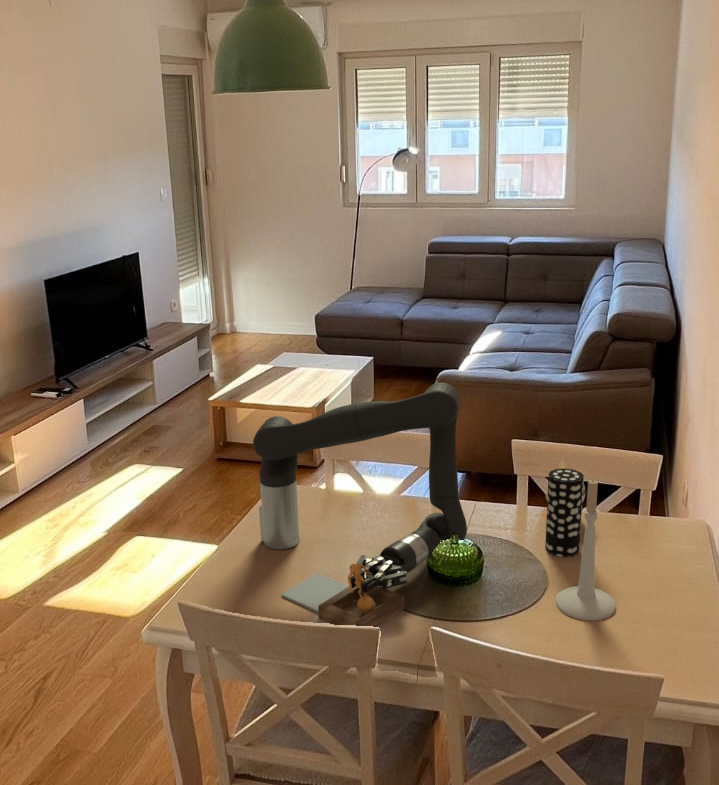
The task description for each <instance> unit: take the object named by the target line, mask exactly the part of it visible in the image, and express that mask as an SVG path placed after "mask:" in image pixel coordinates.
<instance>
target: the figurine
mask: <svg viewBox="0 0 719 785" xmlns="http://www.w3.org/2000/svg"><path fill="white" fill-rule="evenodd" d="M361 567H362V568H363V569H364V570H366V571H367V572H368V573H369V571H368V570H367V569H366V568H365V567H364V566H363V565H362V564H360V563H358V564H356V563H352V564H350V565H349V568H348V570H349V574H348V576H347V582H348V584H349V585H348V586H350V591H351V593H353V592H352V591H353V590H354V589H352V585H351V580H350V578H351V577H352V576H354V578H355V579H356V581H355V584H356V586H357V587H358V588H359V589H360V590H359V591H358V593H359V595H360V597H361V598H360V599H358V600H357V604H356V606H357V609H358V612H359V613H360V614H363V615H364V616H365V615H366V614H368V613H369V612H371V611H372V610H374V609H375V608H376V602H375V601H374V600H373V599H372V598H371V597H369V595H367V594H366V593H363V594H364V596H362V595H361V584H362V583H363V582H365V580H364V579H363V577H362V576H360V575H361ZM369 575H370V573H369Z"/></svg>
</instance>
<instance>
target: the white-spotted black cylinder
mask: <svg viewBox="0 0 719 785" xmlns="http://www.w3.org/2000/svg"><path fill="white" fill-rule="evenodd" d="M584 476H585V475H584V474H583V473H582V472H580V471H579V470H576V469H572V468H566V469H559V468H556V469H553V470H550V471H549V472H548V480H547V487H548V499H547V500H546V503H547V504H546V524H545V525H546V526H545V543H544V544H545V545H544V546H545V547H544V548H545V550H546V552H548V554H550V555H553V556H556V557H560V558H561V557H562V558H569V557H570V558H571V557H573V556H576V555H578V554H579V553H580V546H581V531H582V528H581V527H582V515H583V513H582V512H583V502H582V497H583V483H584V481H585V480H584Z"/></svg>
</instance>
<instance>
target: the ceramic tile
mask: <svg viewBox="0 0 719 785" xmlns="http://www.w3.org/2000/svg"><path fill="white" fill-rule="evenodd" d="M347 587H349V585H347V584H344V583H343V582H339V581H337V580H335V579H332V578H330V577H328V576H326V575H323V574H320V573H318V572H317V573H315V574H313V575H311V576H309V577H308V578H306V579H305V580H303V581H301V582H300V583H298V584H296V585H294V586H292V587H291V588H290V589H288V590H285V591H284V592H282V593H281V597H282V598H285V599H287V600H289V601H290V602H293V603H296V604H298V605H300V606H302V607H304V608H307V609H308V610H311V611H313V612H315V613H317V614H319V609H318V606H319V605H320V604H322V603H323V602H325V601H326V600H328V599H330V598H331V597H333V596H334V595H336V594H338V593H339V592H341V591H342V590H344V589H345V588H347Z"/></svg>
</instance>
